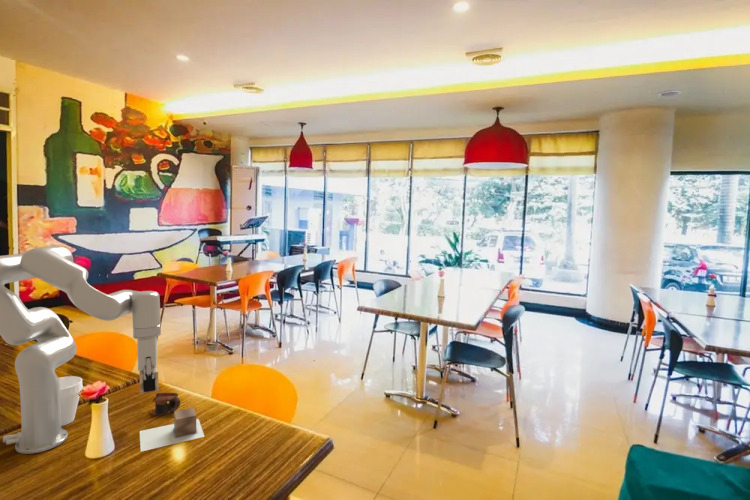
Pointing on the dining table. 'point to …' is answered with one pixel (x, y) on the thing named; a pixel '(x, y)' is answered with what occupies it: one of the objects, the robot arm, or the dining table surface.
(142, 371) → the maple block
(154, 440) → the white rectangular board
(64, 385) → the cup
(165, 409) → the pottery mug
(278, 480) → the dining table surface
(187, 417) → the walnut cube
